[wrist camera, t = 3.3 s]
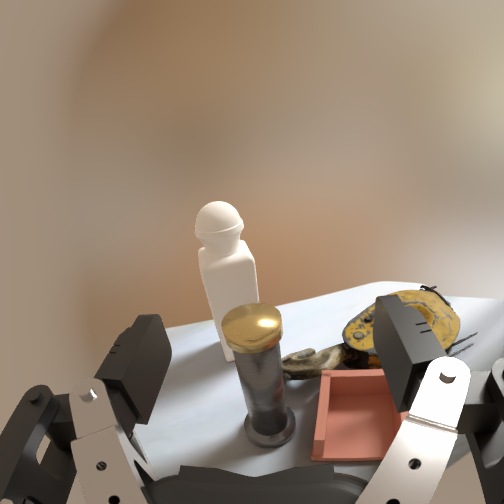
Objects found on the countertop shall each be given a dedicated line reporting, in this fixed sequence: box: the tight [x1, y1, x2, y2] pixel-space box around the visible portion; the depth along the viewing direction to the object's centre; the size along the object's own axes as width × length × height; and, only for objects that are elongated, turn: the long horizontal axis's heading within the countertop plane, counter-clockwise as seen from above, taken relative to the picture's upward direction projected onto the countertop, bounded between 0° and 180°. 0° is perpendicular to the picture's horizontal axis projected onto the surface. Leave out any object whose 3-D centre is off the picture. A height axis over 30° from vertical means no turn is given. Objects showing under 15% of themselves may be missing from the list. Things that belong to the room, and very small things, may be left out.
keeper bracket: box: [311, 369, 409, 461], centre depth 27 cm, size 11×11×11 cm
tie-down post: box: [221, 303, 296, 448], centre depth 28 cm, size 6×6×16 cm
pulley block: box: [281, 285, 478, 380], centre depth 38 cm, size 14×6×30 cm
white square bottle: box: [195, 201, 259, 362], centre depth 40 cm, size 6×6×22 cm
